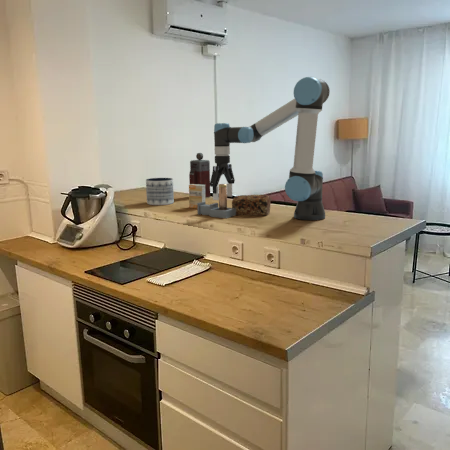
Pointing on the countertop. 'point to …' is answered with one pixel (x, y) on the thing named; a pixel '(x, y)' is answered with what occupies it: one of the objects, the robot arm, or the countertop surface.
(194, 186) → the supplement box
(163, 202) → the planter
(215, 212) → the grey ring bracket
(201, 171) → the coffee press
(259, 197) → the bread
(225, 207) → the pipe stub
